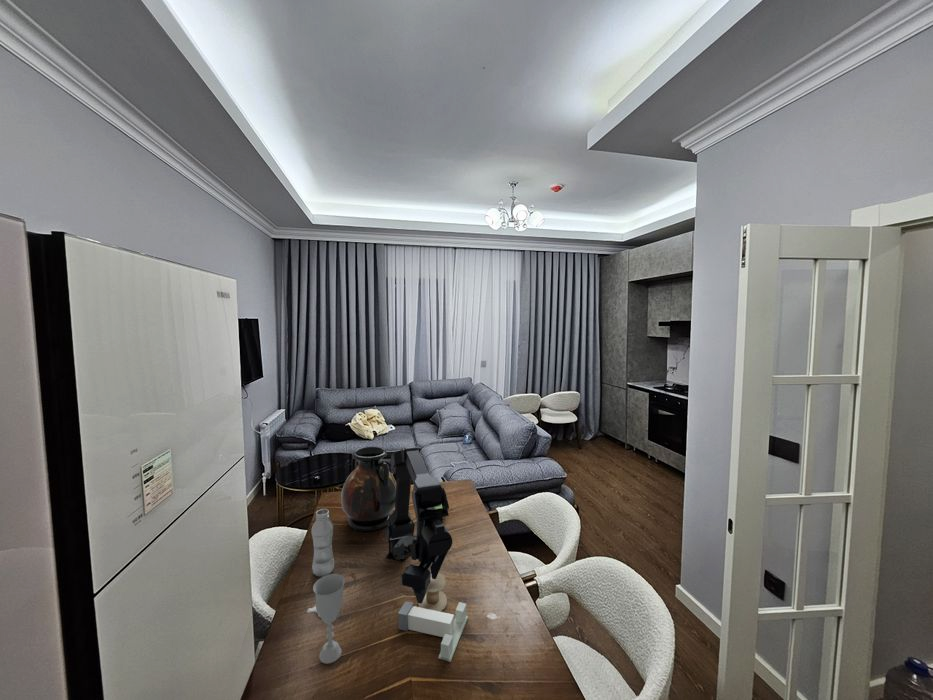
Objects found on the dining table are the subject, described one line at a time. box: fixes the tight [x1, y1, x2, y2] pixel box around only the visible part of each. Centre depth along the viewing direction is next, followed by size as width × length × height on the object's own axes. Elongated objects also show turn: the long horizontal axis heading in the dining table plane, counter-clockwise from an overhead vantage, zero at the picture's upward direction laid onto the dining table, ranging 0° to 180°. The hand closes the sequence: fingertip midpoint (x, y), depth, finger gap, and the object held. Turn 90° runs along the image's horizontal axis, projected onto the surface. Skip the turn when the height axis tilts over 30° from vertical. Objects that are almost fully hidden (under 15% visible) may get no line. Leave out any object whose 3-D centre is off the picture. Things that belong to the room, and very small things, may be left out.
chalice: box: [312, 573, 346, 664], centre depth 93 cm, size 7×7×18 cm
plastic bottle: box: [310, 508, 335, 578], centre depth 122 cm, size 6×7×20 cm
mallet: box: [397, 601, 455, 638], centre depth 102 cm, size 14×4×4 cm, turn 73°
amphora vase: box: [340, 446, 397, 532], centre depth 151 cm, size 22×22×28 cm
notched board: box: [438, 601, 469, 663], centre depth 99 cm, size 3×14×4 cm, turn 163°
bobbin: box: [417, 572, 448, 612], centre depth 111 cm, size 8×8×7 cm
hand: (427, 590), depth 101 cm, fingers open, 9 cm apart
